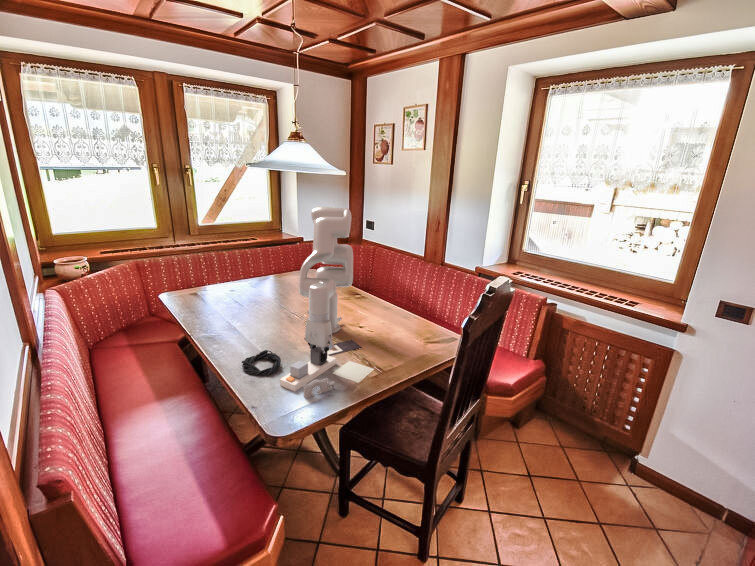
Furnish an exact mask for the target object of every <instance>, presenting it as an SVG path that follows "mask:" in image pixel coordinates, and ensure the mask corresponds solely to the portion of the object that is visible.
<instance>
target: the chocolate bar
mask: <svg viewBox="0 0 755 566" xmlns="http://www.w3.org/2000/svg"><path fill="white" fill-rule="evenodd" d="M333 344H334V346H335V347H334V348H332V349H330V350H329V351H327V355H329V356H331V357H333V356H336V355H340V354H343V353H347V352H350V351H357V350H356V349H358V350H360V349H359V348H362V349H363V346H361V345H360V344H358V343H357V342H355V340H353V339H348V340H345V341H340V342H336V343H333ZM328 346H329V344H328Z"/></svg>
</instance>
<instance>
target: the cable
mask: <svg viewBox="0 0 755 566" xmlns="http://www.w3.org/2000/svg"><path fill="white" fill-rule="evenodd" d="M262 359H268V360H269V361H270V362H271V363H273V365H272V367H268V368H265V369H262V370H261V369H260V368H258V367H257V366H256V365H255V364H254V362H255V361H257V360H262ZM281 362H282V359H281V357H280V356H279V355H278V354H277V353H275V352H274V353H273V352H272V351H271V350H268V349H265V350H262V351H260V352H259V353H256V354H254V355H252V356H250V357H248V356H247V357H246V358H244V360H241V364H242V368H243V370H244V372H245V373H246V374H247V375H248V374H250V375H252V376H257V377H260V376H261V377H267V376H269V375H271V374H275V373H276V372H277V371H278V369H279V368H280V367H281Z"/></svg>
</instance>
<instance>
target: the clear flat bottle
mask: <svg viewBox="0 0 755 566" xmlns="http://www.w3.org/2000/svg"><path fill="white" fill-rule="evenodd" d="M335 384H336V382H335V381H334V380H332V381H331V382H330V381H329V379H328V377H326V378H323V379H317V378H316V379H313V380H311V381H310V382H309V383H307V384H305V385H303V386H302V387H303V398H304V399H308V398H311V397H315V395H316V394H318V395H321V394H323V393H326V392H329V391H333V390H334V389H335V386H336V385H335Z"/></svg>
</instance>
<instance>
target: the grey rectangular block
mask: <svg viewBox="0 0 755 566" xmlns="http://www.w3.org/2000/svg"><path fill="white" fill-rule="evenodd" d="M321 353H322V349H321V347H319V346H316V347H315V348H313V349H312V350H311V349H310V354H309V355H310V361H311V363H312V364H315V365H318V366H321V365H323V364H324V363H326V361H327V360H325V361H324V362H321Z"/></svg>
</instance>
